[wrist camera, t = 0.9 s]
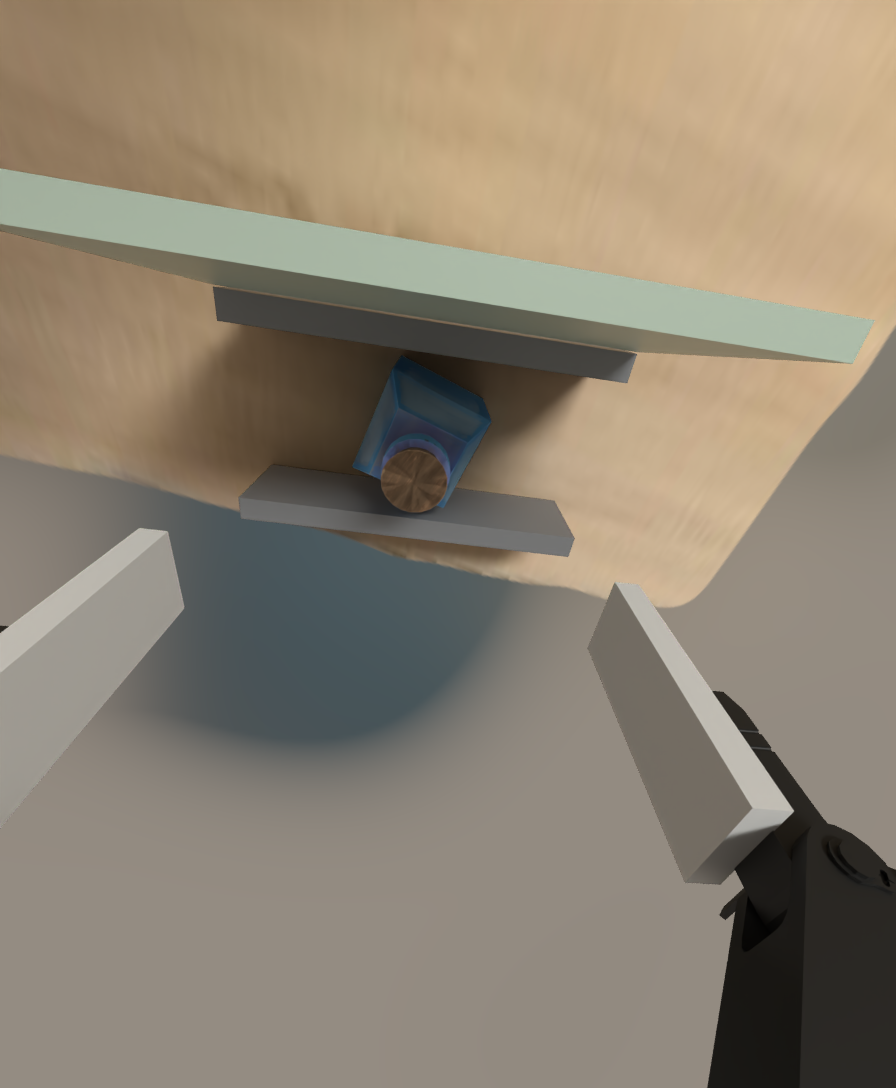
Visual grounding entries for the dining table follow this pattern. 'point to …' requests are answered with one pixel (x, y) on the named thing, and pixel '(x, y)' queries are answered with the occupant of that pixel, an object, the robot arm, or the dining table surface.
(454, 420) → the perfume bottle
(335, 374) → the dining table surface
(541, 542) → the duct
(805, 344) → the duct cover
